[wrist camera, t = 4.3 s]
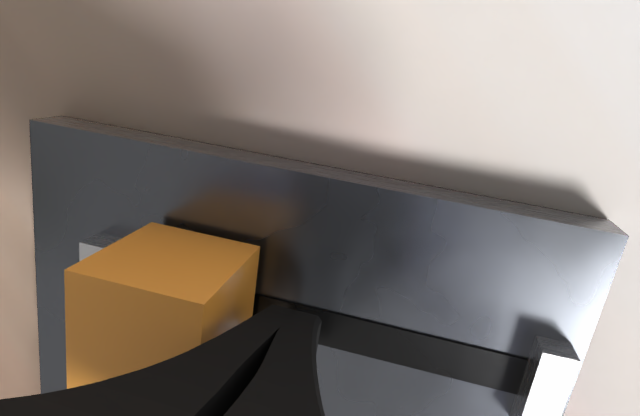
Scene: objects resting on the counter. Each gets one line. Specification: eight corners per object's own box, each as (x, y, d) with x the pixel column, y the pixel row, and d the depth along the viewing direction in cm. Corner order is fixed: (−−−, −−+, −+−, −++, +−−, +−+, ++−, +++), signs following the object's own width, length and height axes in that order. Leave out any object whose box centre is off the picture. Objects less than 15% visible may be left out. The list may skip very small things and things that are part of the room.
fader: (245, 378, 13) (191, 469, 10) (146, 352, 14) (67, 431, 11) (259, 246, 12) (203, 304, 9) (151, 222, 12) (64, 269, 10)
